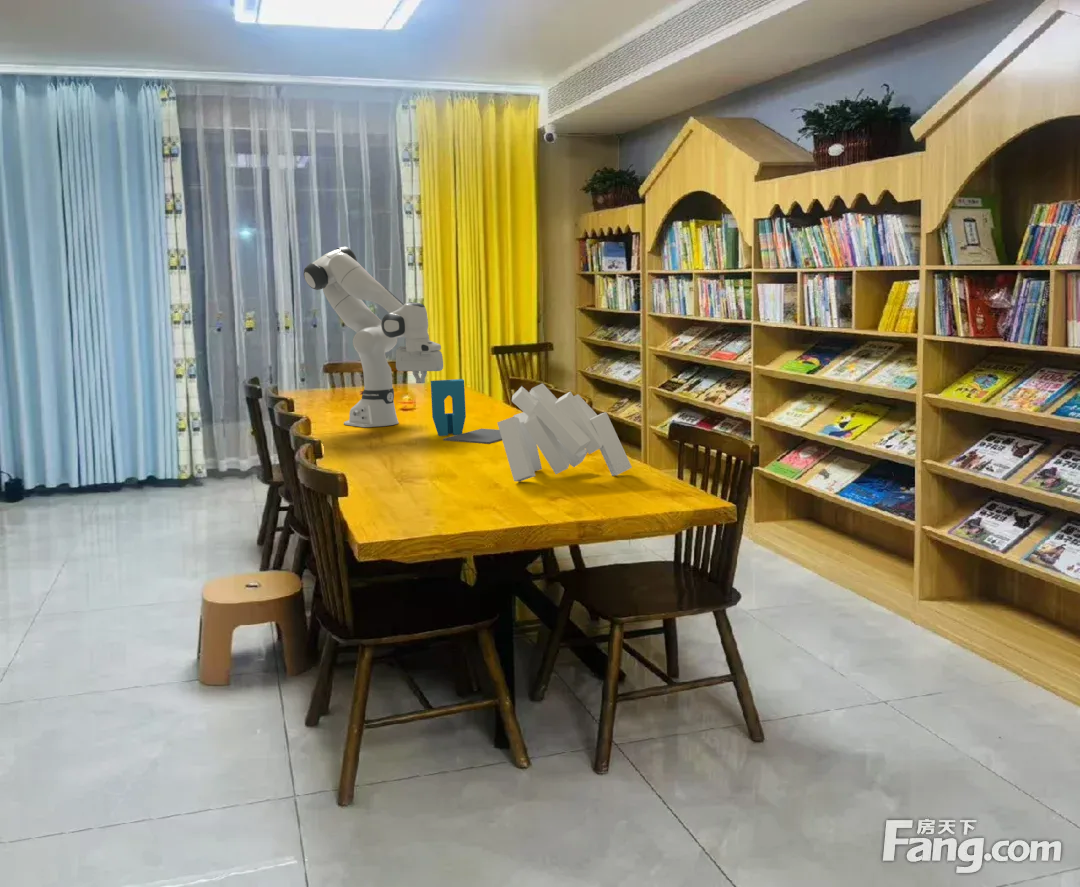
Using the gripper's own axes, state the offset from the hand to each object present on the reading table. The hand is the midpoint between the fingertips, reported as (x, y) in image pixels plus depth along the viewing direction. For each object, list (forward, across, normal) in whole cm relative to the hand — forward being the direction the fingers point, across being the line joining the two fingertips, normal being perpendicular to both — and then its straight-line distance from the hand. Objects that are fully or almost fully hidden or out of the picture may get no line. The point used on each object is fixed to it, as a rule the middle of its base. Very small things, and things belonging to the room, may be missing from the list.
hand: (420, 383), depth 391 cm
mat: (+19, +28, 0) cm, 34 cm away
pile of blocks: (+21, +90, -50) cm, 105 cm away
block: (+19, +12, 0) cm, 23 cm away
